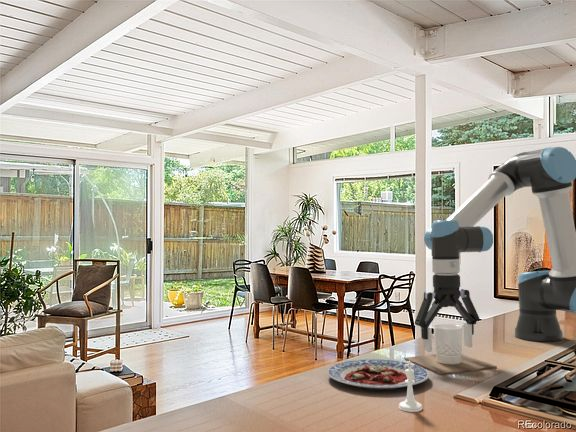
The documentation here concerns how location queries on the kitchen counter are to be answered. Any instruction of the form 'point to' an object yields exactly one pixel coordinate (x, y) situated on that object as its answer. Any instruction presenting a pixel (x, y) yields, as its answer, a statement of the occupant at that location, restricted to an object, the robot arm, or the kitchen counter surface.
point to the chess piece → (410, 393)
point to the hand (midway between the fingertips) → (448, 348)
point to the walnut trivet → (442, 369)
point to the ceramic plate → (376, 373)
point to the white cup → (448, 343)
